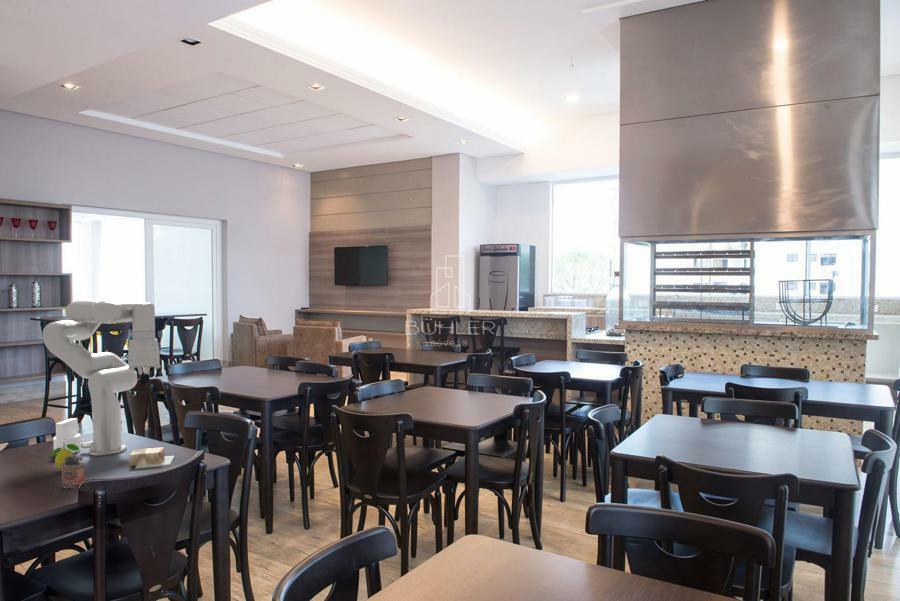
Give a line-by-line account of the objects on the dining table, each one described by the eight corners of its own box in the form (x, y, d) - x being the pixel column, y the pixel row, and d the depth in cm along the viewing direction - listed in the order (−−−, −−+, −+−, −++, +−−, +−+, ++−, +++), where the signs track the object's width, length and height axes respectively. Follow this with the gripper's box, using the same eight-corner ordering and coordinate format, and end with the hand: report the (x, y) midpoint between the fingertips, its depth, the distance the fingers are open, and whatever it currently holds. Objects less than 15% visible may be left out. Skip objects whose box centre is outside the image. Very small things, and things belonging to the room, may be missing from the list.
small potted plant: (58, 487, 190) (57, 456, 190) (67, 484, 194) (66, 453, 193) (79, 489, 188) (78, 458, 188) (88, 486, 192) (87, 455, 191)
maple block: (129, 454, 210) (160, 452, 213) (134, 449, 217) (164, 447, 220) (130, 466, 210) (161, 463, 213) (134, 460, 217) (164, 457, 220)
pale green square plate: (135, 468, 209) (135, 467, 209) (141, 459, 220) (141, 458, 220) (169, 465, 212) (169, 464, 212) (174, 456, 223) (174, 455, 223)
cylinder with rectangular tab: (71, 454, 227) (70, 423, 227) (48, 455, 227) (47, 423, 227) (86, 448, 236) (85, 418, 236) (63, 448, 236) (62, 418, 236)
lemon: (80, 468, 210) (79, 440, 209) (65, 474, 204) (64, 445, 204) (65, 467, 212) (64, 439, 211) (50, 472, 206) (49, 443, 206)
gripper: (119, 337, 217) (120, 387, 218) (164, 336, 221) (165, 385, 222) (124, 335, 224) (125, 384, 225) (167, 334, 228) (168, 382, 229)
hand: (144, 384), depth 223 cm, fingers closed
